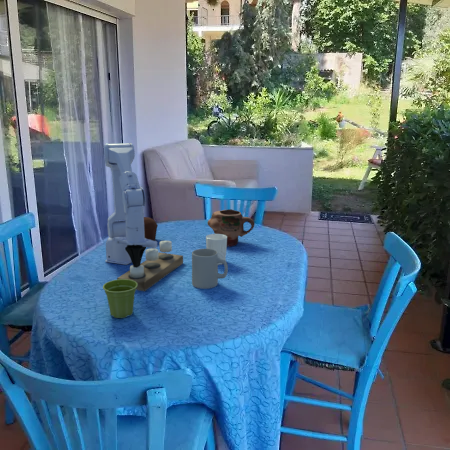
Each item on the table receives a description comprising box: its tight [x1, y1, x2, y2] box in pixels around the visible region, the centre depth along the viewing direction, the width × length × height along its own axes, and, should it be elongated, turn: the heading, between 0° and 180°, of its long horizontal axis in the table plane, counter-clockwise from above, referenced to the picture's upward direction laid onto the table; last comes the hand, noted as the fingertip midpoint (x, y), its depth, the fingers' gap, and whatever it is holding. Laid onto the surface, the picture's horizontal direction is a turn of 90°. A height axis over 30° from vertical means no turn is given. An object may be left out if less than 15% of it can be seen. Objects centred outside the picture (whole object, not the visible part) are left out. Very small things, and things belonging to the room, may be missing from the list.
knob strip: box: [116, 251, 184, 292], centre depth 156 cm, size 10×28×3 cm, turn 159°
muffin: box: [144, 216, 159, 241], centre depth 194 cm, size 12×11×10 cm
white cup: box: [205, 233, 228, 266], centre depth 168 cm, size 8×8×10 cm
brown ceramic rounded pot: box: [207, 208, 256, 247], centre depth 190 cm, size 20×12×14 cm, turn 85°
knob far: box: [158, 240, 173, 253], centre depth 164 cm, size 4×4×3 cm
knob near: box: [129, 264, 144, 278], centre depth 146 cm, size 4×4×3 cm
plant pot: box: [102, 279, 138, 319], centre depth 126 cm, size 9×9×9 cm
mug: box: [191, 248, 229, 290], centre depth 147 cm, size 12×8×11 cm
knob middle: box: [144, 248, 159, 261], centre depth 155 cm, size 4×4×3 cm
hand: (136, 266), depth 146 cm, fingers closed, pressing on knob near
